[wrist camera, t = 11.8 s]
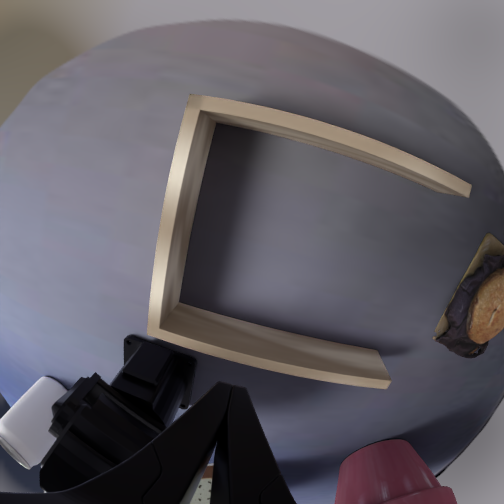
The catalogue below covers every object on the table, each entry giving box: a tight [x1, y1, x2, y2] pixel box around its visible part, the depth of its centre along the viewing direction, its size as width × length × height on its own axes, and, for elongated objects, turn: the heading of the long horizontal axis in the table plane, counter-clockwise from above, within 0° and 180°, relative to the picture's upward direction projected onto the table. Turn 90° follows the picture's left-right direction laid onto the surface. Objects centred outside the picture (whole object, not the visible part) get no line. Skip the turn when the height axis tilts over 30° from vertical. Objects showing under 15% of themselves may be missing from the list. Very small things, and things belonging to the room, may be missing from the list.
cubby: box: [147, 94, 472, 389], centre depth 17 cm, size 15×17×4 cm
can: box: [0, 377, 68, 469], centre depth 21 cm, size 6×6×12 cm
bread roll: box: [433, 233, 504, 358], centre depth 17 cm, size 11×8×4 cm
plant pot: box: [335, 439, 457, 504], centre depth 18 cm, size 14×14×13 cm
